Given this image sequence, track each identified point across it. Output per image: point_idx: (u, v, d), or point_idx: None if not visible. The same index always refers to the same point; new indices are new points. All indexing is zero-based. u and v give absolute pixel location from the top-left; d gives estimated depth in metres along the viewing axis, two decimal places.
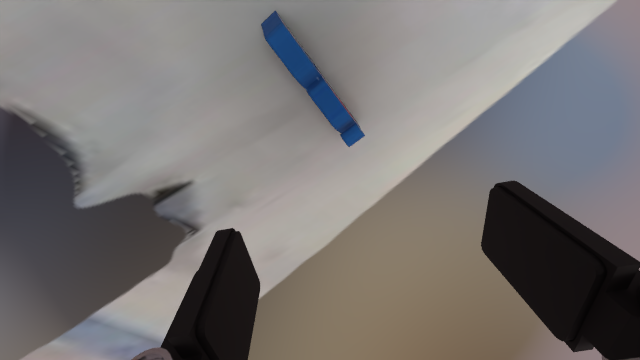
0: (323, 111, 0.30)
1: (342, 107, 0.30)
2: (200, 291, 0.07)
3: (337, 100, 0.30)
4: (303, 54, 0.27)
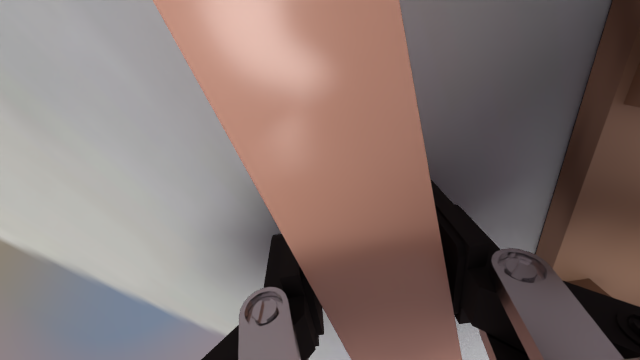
0: None
1: None
2: None
3: None
4: None
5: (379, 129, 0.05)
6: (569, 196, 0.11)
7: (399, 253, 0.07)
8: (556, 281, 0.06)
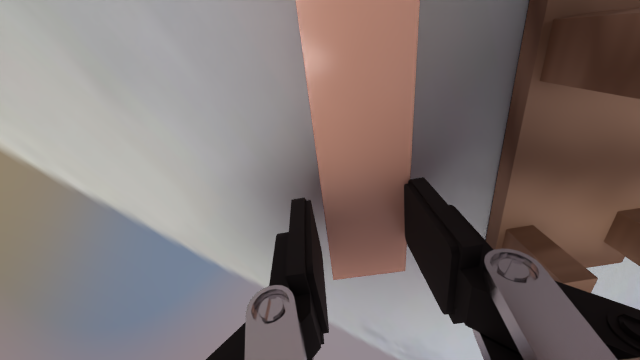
0: None
1: None
2: (298, 243, 0.08)
3: None
4: None
5: (391, 72, 0.08)
6: (510, 155, 0.14)
7: (383, 167, 0.10)
8: (548, 281, 0.06)
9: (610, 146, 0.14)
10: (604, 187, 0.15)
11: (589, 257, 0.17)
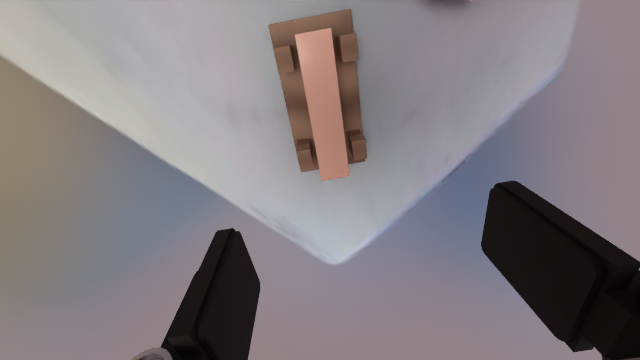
0: None
1: None
2: (200, 291, 0.07)
3: None
4: None
5: (333, 102, 0.28)
6: (286, 102, 0.32)
7: (334, 132, 0.30)
8: None
9: None
10: None
11: None
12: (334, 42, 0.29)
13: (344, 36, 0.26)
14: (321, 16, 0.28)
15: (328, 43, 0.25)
